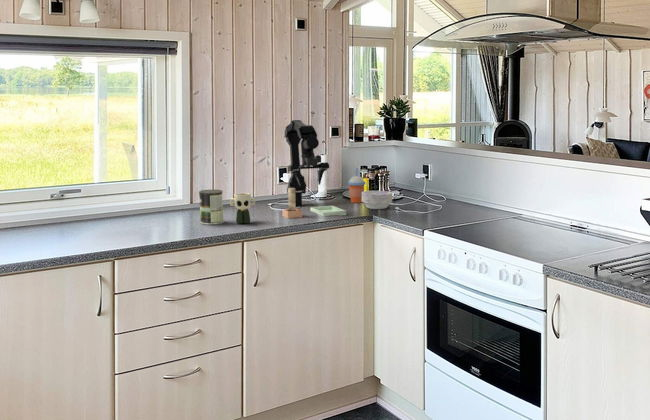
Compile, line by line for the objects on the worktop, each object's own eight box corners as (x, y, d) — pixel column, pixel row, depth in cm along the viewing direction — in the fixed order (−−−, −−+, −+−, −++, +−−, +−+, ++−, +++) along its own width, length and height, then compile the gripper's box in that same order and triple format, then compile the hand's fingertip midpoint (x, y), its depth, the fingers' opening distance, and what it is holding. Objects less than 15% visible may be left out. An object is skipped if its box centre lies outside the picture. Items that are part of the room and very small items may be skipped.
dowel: (287, 216, 291) (287, 188, 289) (294, 215, 292) (293, 187, 290) (290, 217, 288) (289, 189, 286) (296, 216, 289) (296, 188, 287)
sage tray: (310, 211, 304) (310, 207, 304) (332, 209, 309) (332, 205, 309) (323, 217, 290) (323, 212, 290) (346, 215, 295) (346, 210, 295)
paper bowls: (392, 205, 321) (392, 189, 319) (392, 210, 306) (392, 194, 304) (361, 205, 322) (361, 189, 320) (361, 210, 307) (361, 194, 306)
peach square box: (282, 217, 292) (282, 209, 291) (296, 215, 295) (296, 208, 294) (287, 219, 286) (287, 212, 285) (302, 218, 289) (302, 210, 288)
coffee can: (199, 225, 276) (197, 193, 273) (201, 220, 286) (200, 189, 283) (222, 224, 277) (221, 192, 274) (224, 219, 287) (223, 189, 284)
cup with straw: (365, 200, 335) (365, 166, 332) (365, 203, 326) (365, 168, 323) (348, 200, 336) (348, 166, 333) (347, 203, 327) (347, 168, 324)
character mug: (230, 225, 275) (229, 195, 272) (230, 222, 282) (229, 193, 279) (256, 224, 276) (255, 194, 274) (255, 221, 283) (254, 192, 281)
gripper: (292, 150, 285) (294, 184, 285) (331, 148, 291) (334, 182, 290) (286, 153, 296) (289, 186, 296) (324, 152, 301) (327, 184, 301)
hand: (309, 185), depth 295 cm, fingers open, 9 cm apart
